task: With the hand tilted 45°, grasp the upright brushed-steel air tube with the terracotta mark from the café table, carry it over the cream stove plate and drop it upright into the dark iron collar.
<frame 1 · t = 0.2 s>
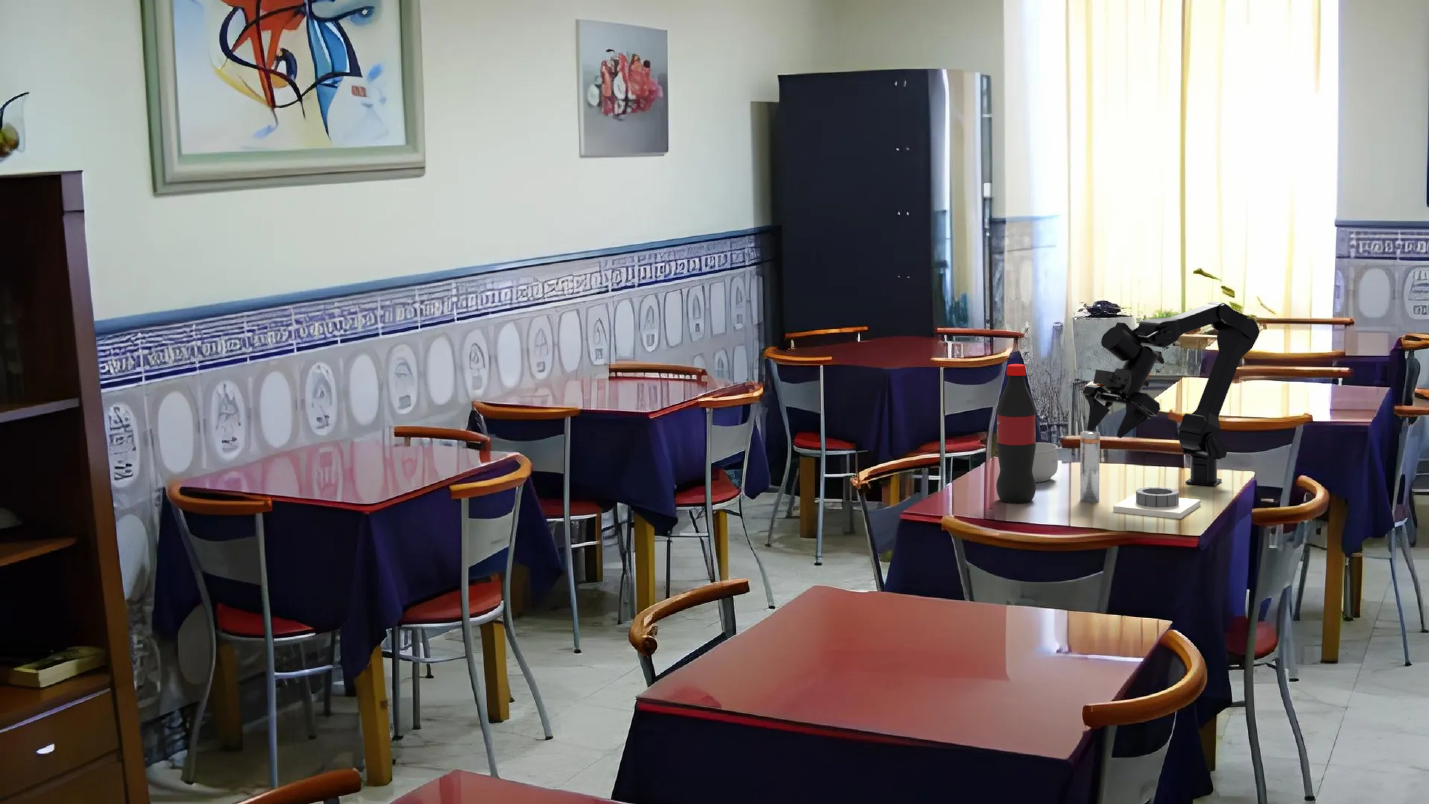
hand: (1103, 434, 314), 14 cm above the table, tool tilted 35°, fingers open, 9 cm apart
cola bottle: (1016, 501, 317), on the table
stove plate: (1157, 508, 306), on the table
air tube: (1089, 500, 315), on the table
teacup: (1032, 479, 340), on the table
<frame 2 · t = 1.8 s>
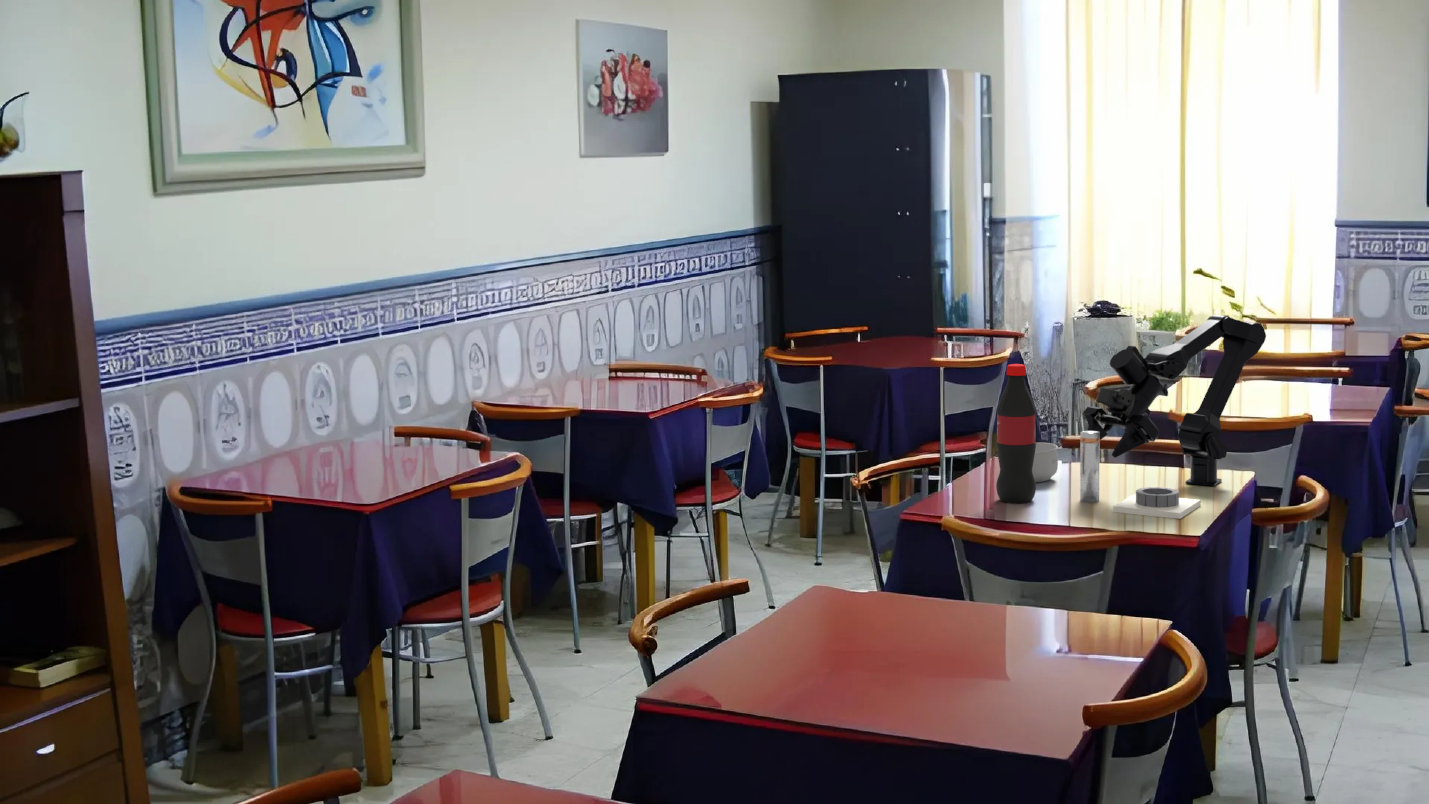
hand: (1098, 453, 314), 10 cm above the table, tool tilted 45°, fingers open, 9 cm apart
nothing on the table moved.
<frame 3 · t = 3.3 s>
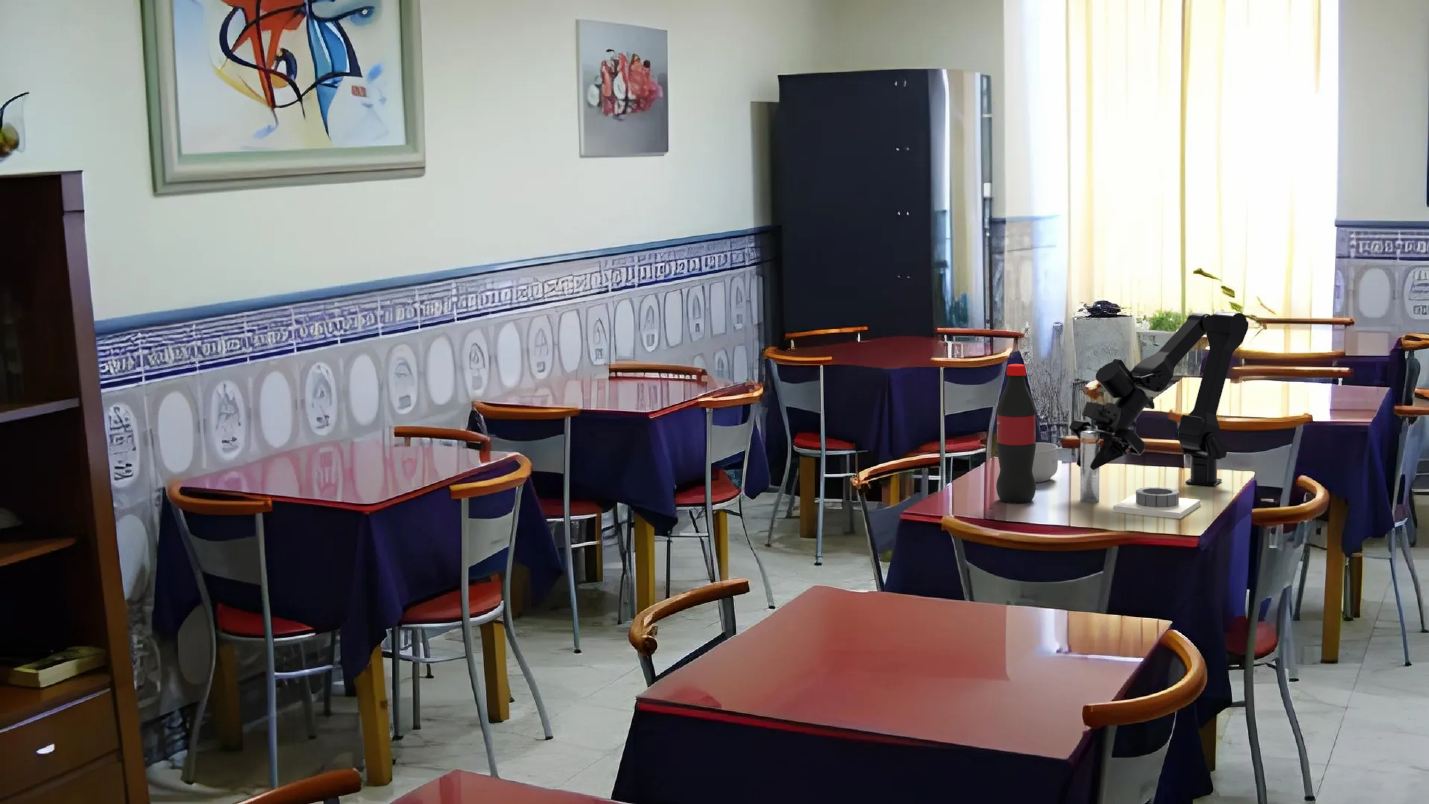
hand: (1084, 467, 313), 8 cm above the table, tool tilted 45°, fingers closed on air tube, 4 cm apart
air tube: (1089, 500, 315), on the table, touching gripper
everything else where it was.
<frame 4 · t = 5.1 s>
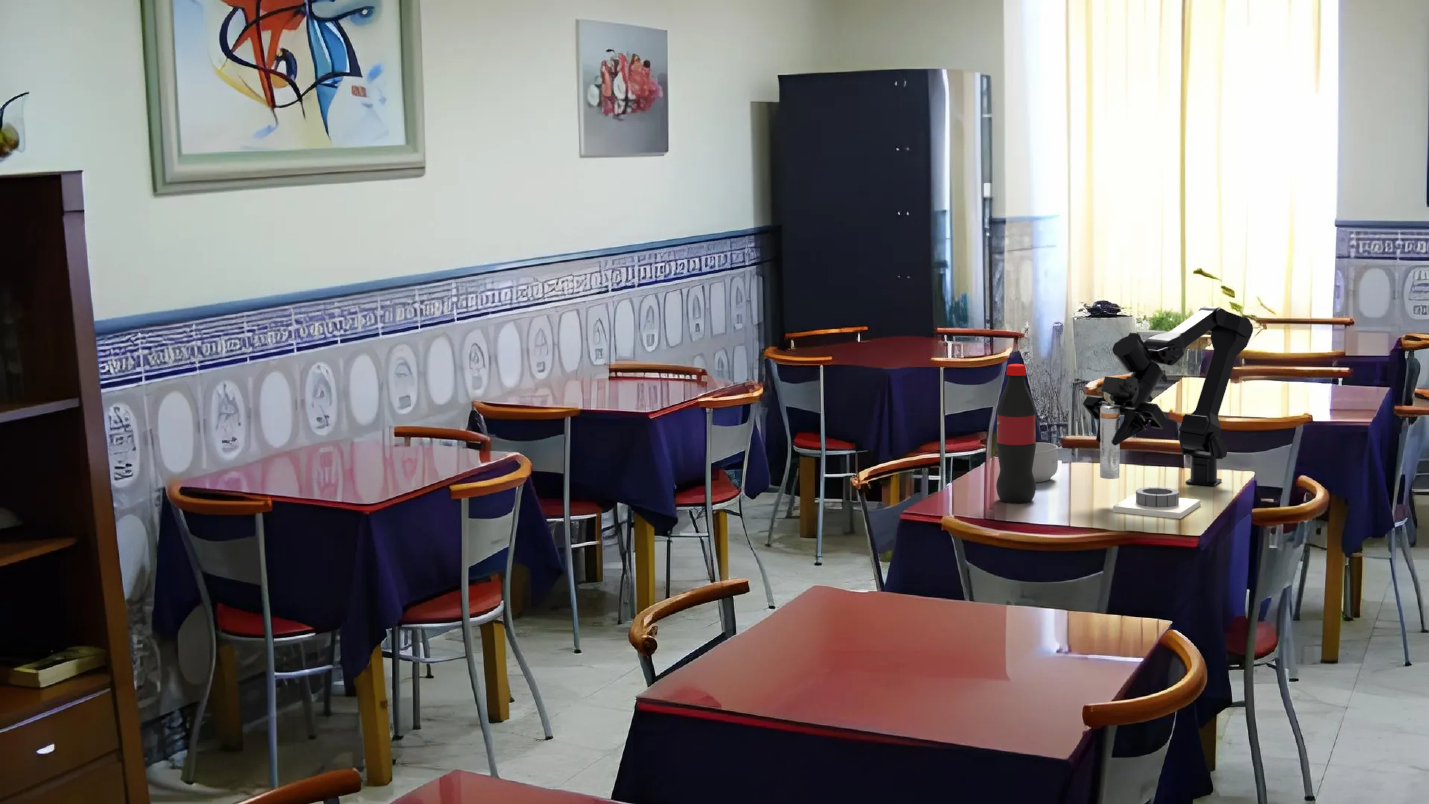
hand: (1105, 442, 309), 13 cm above the table, tool tilted 45°, fingers closed on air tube, 4 cm apart
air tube: (1109, 476, 311), point 6 cm above the table, touching gripper
everything else where it was.
when the fingers open (9 cm above the table, at t = 7.2 s): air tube stays where it is, resting on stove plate.
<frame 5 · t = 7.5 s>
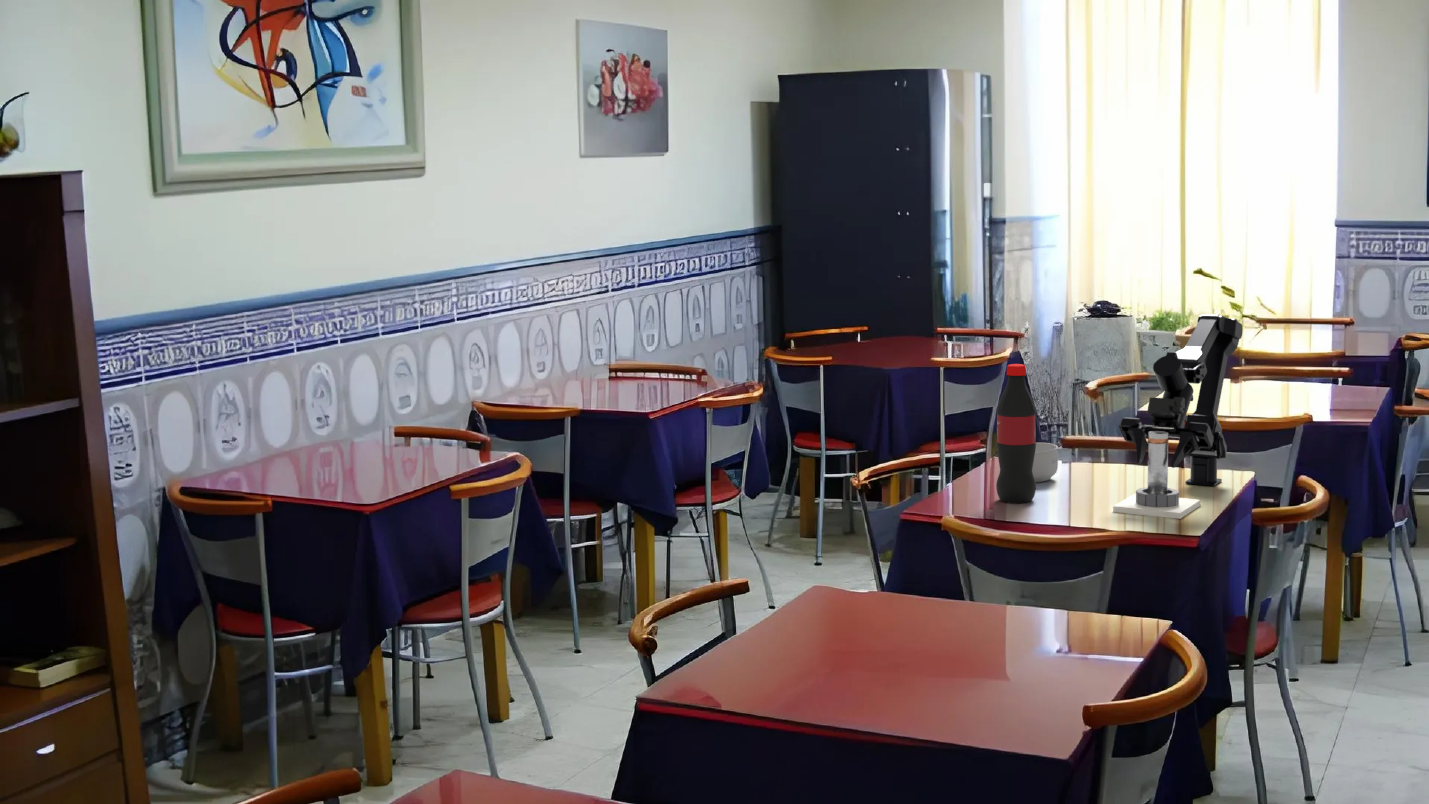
hand: (1155, 465, 303), 10 cm above the table, tool tilted 45°, fingers open, 7 cm apart
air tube: (1157, 502, 306), point 1 cm above the table, touching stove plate
everything else where it was.
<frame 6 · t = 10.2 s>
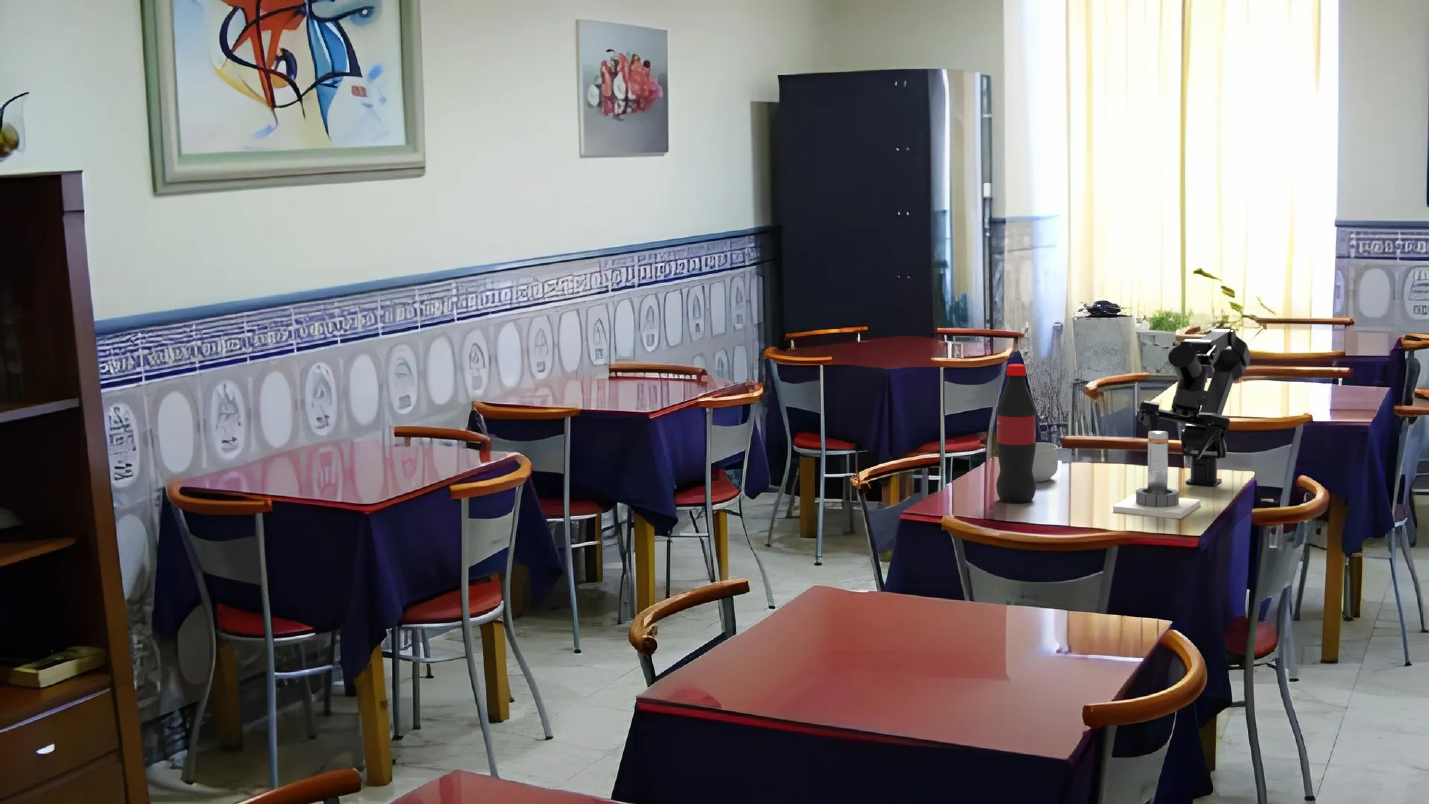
hand: (1175, 454, 311), 10 cm above the table, tool tilted 35°, fingers open, 9 cm apart
nothing on the table moved.
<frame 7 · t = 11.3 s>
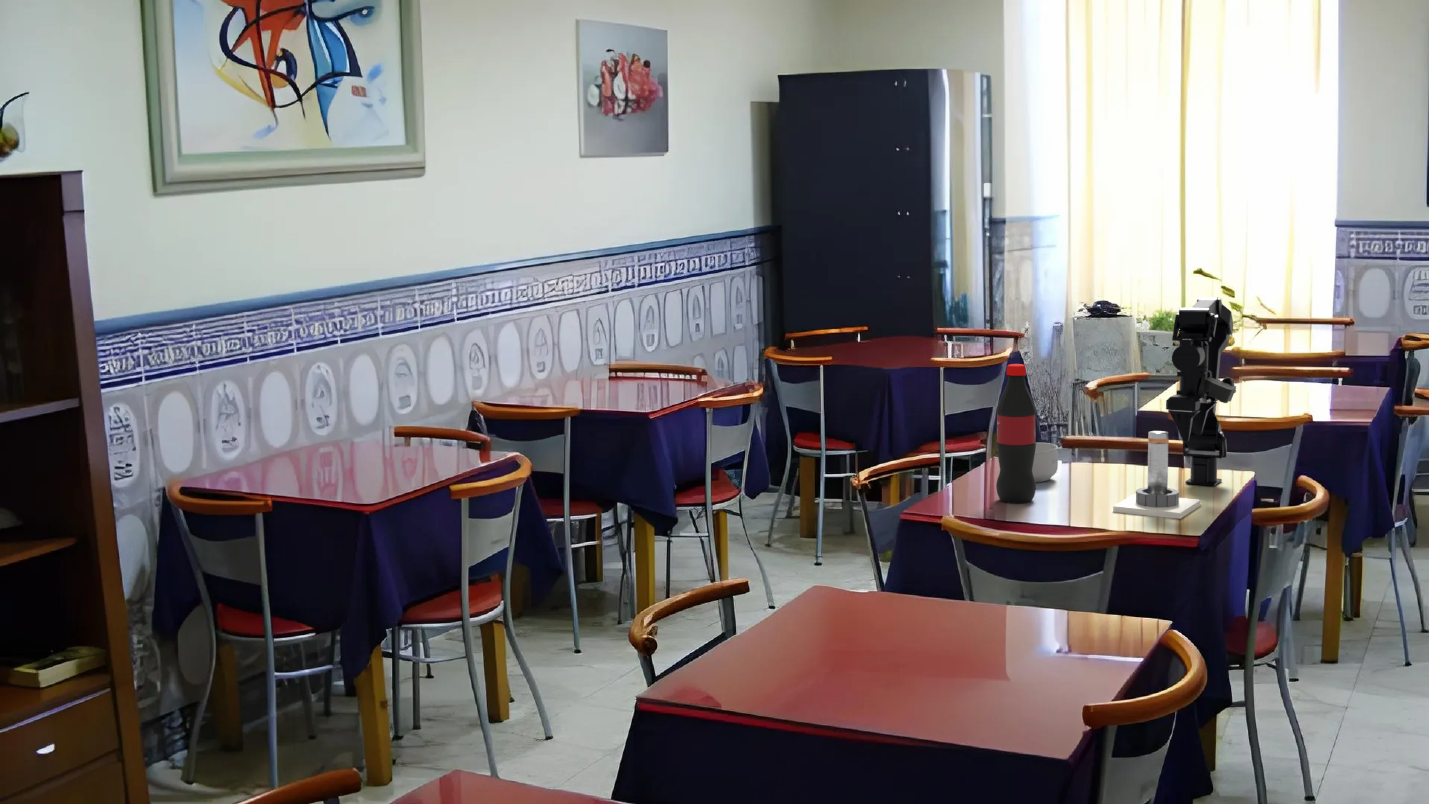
hand: (1192, 438, 313), 13 cm above the table, tool pointing down, fingers open, 9 cm apart
nothing on the table moved.
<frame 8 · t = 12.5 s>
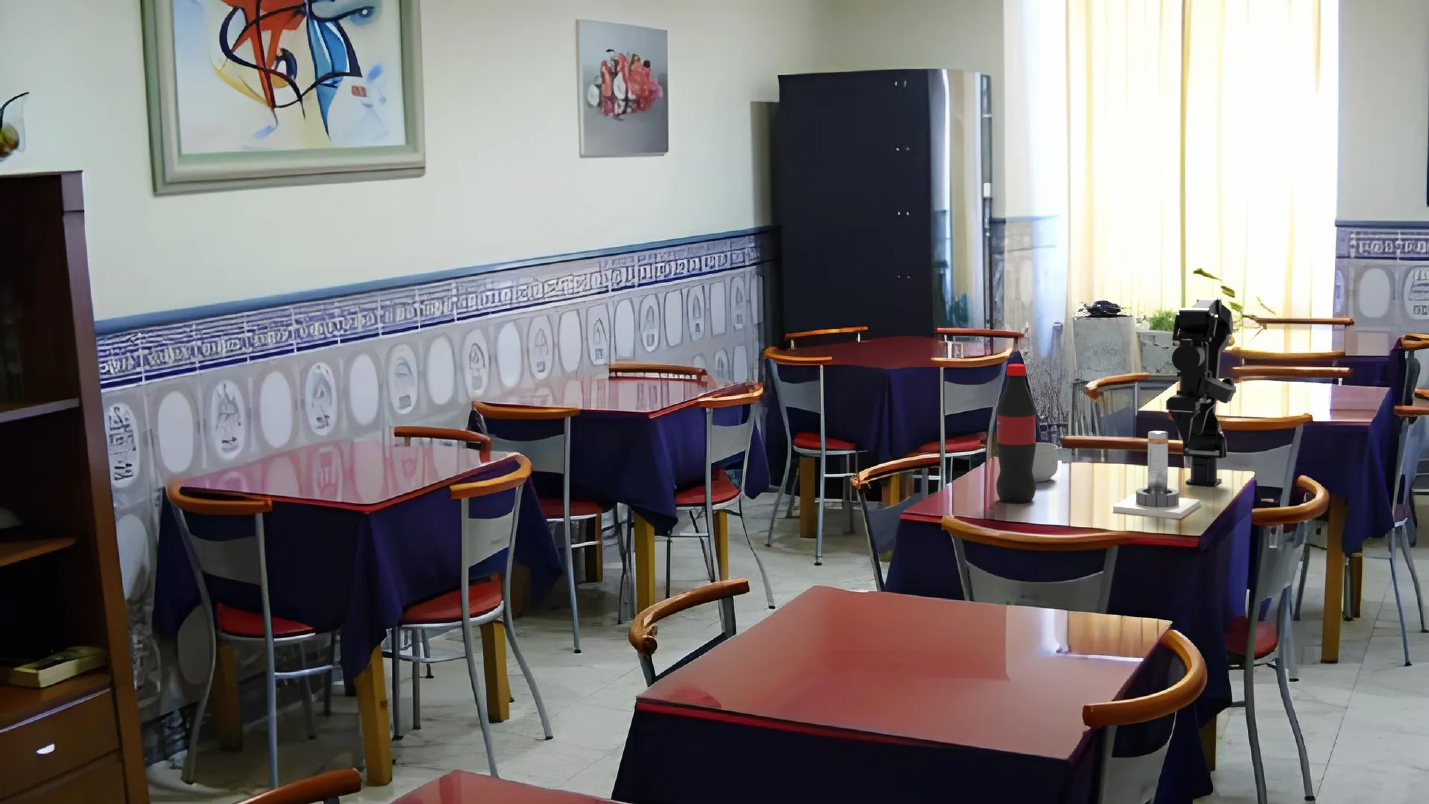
hand: (1192, 438, 313), 13 cm above the table, tool pointing down, fingers open, 9 cm apart
nothing on the table moved.
at the end: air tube 0.0 cm from the target spot, point 1.2 cm above the table; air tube tilted 0°; the gripper is holding nothing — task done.
